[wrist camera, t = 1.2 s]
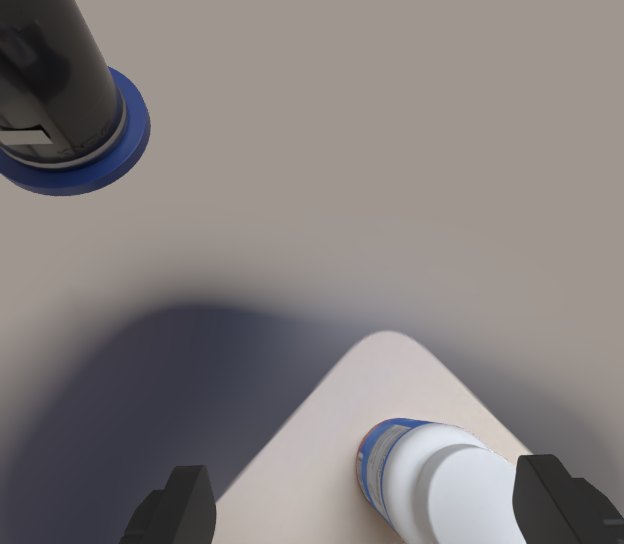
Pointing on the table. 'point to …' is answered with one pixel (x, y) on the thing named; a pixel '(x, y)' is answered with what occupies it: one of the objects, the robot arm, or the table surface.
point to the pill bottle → (438, 484)
